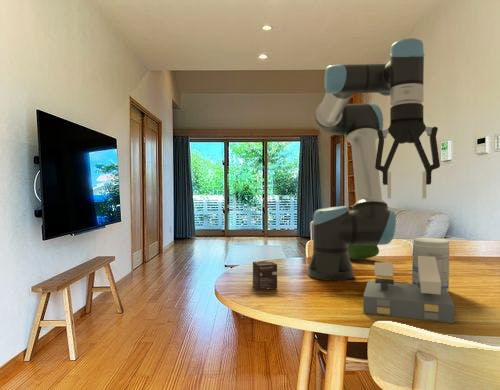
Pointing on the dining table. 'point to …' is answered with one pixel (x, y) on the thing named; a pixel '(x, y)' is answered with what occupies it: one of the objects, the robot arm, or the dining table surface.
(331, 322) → the dining table surface
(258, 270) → the box
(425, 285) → the switch right
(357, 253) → the fruit
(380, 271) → the switch left
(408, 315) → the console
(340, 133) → the robot arm
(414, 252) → the supplement tub
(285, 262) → the dining table surface
